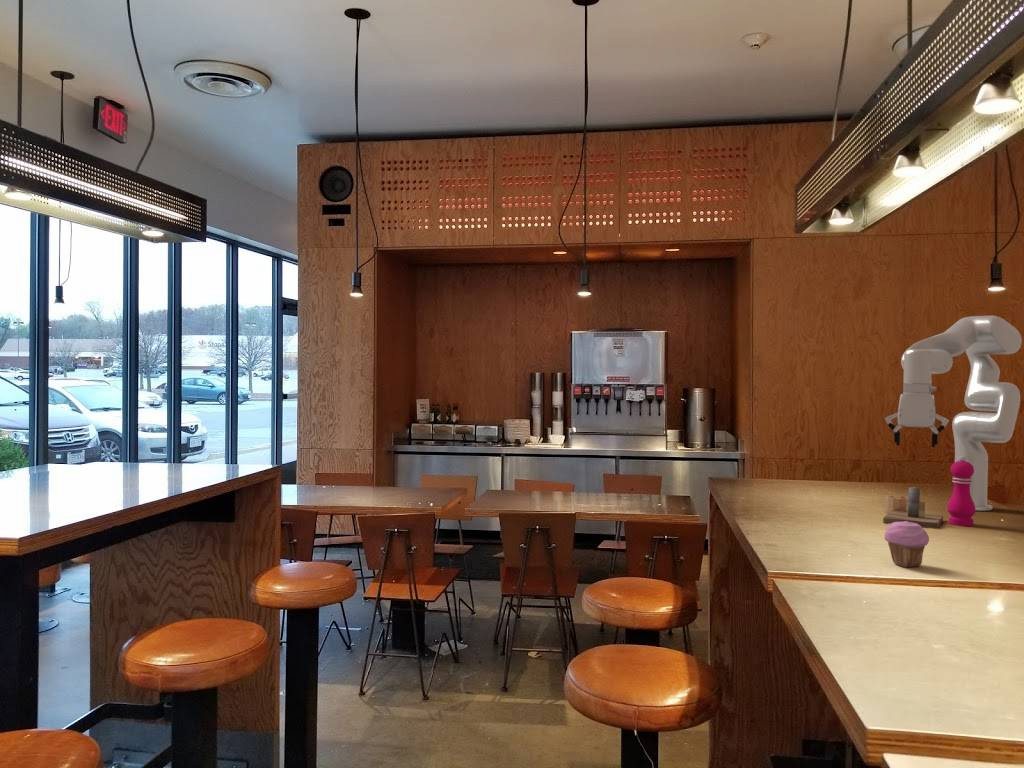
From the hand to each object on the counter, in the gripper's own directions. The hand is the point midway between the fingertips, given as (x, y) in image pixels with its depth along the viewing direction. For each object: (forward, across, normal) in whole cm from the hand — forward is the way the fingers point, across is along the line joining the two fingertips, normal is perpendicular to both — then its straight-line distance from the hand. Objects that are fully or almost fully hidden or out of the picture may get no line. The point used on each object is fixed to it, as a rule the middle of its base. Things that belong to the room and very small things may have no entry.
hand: (915, 446), depth 247 cm
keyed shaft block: (+22, -1, +8) cm, 23 cm away
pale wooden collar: (+22, +5, -6) cm, 23 cm away
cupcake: (+22, -4, +73) cm, 76 cm away
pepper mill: (+22, -13, +5) cm, 26 cm away
